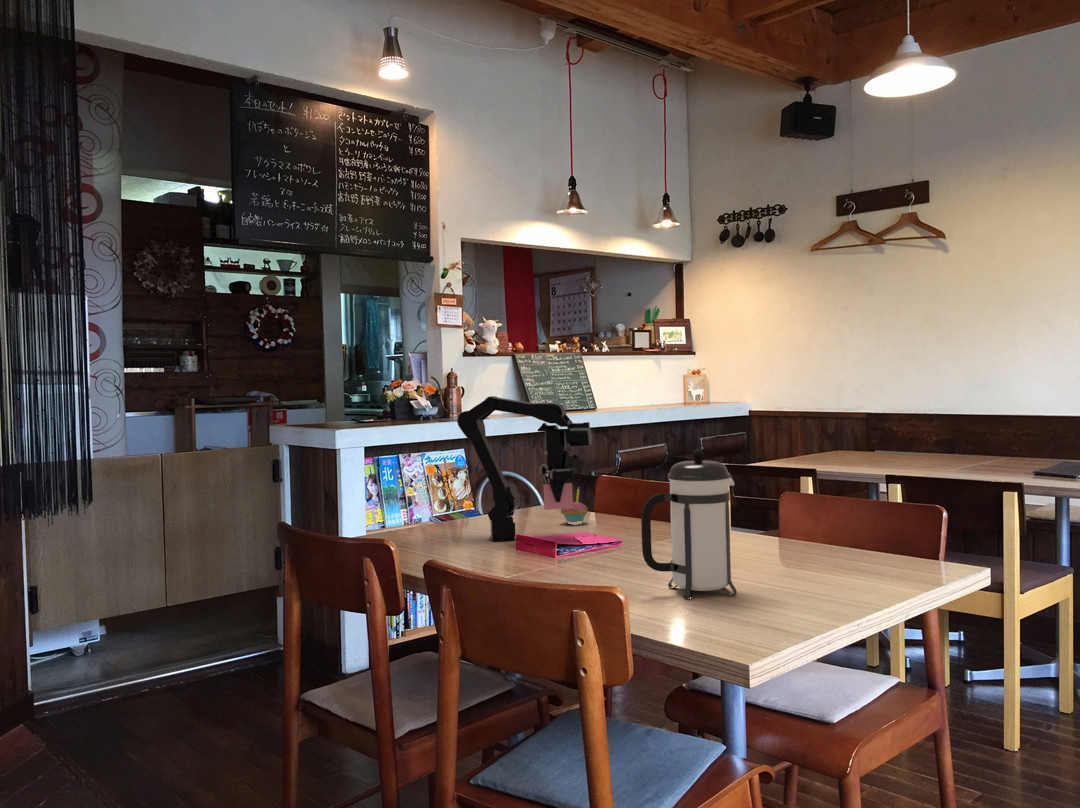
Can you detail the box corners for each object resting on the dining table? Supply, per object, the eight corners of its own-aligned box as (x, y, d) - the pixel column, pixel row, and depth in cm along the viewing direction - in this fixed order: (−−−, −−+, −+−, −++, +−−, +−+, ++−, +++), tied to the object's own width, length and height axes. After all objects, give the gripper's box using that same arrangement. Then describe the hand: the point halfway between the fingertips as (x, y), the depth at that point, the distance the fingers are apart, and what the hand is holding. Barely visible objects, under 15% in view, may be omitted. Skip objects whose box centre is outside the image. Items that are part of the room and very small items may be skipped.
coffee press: (683, 579, 188) (680, 445, 187) (750, 589, 177) (747, 446, 177) (641, 596, 174) (637, 451, 174) (711, 607, 164) (707, 453, 163)
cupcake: (592, 523, 269) (591, 485, 268) (579, 527, 261) (578, 488, 261) (569, 521, 273) (568, 484, 273) (556, 525, 266) (554, 487, 266)
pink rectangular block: (545, 509, 239) (544, 484, 239) (544, 508, 240) (543, 484, 240) (572, 507, 241) (572, 483, 240) (571, 507, 242) (570, 482, 242)
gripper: (591, 447, 233) (593, 504, 233) (575, 443, 251) (576, 496, 251) (551, 449, 230) (553, 506, 231) (538, 445, 249) (540, 498, 249)
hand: (557, 501), depth 240 cm, fingers closed on pink rectangular block, 2 cm apart
